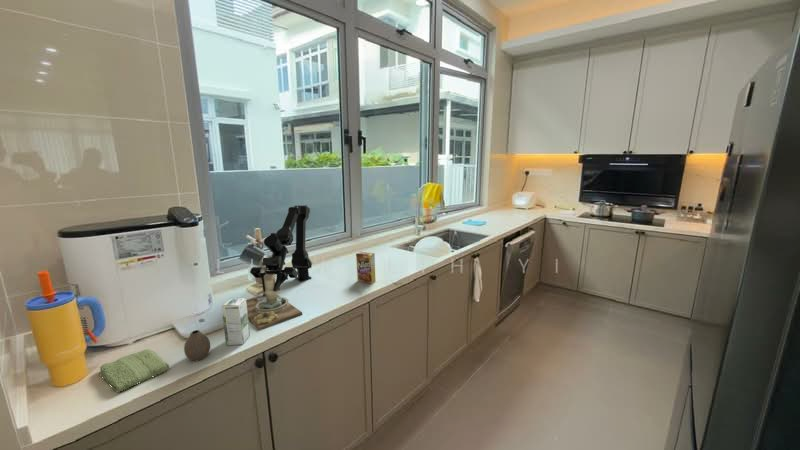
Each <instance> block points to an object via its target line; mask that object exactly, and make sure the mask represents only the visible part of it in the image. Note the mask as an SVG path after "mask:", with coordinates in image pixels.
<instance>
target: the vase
mask: <svg viewBox="0 0 800 450" xmlns="http://www.w3.org/2000/svg"><path fill="white" fill-rule="evenodd" d="M183 351H184V355H185V357H186V358H187V359H188V360H190V361H192V360H193V361H192V362H196V360H198V361H200V359H201V360H203V359H205V358H206V357H207V355H209V353H210V351H211V341H210V338H209V337H208V336H207V335H206V334H204V333H203V332H201V330H199V329H195V330H192V331H191V332H190V334H189V336H188V337H187V339H186V340H185V343H184V345H183ZM204 357H205V358H204Z"/></svg>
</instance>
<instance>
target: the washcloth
mask: <svg viewBox="0 0 800 450" xmlns="http://www.w3.org/2000/svg"><path fill="white" fill-rule="evenodd" d="M169 367H170V365H169V363H167V361H165V360H164V359H163V358H161V357H160V356H159V355H157V353H156V352H155V351H154V350H152V349H150V348H146V349H142V350H140V351H137V352H134V353H130V354H127V355H124V356H121V357H119V358H117V359H116V360H113V361H111V362H106V363H103V364H102V365H101V366H100V367H99V369H100V372H99V373H98V374H100V375H101V376H102V377H103V378H104V379H105V380H106V381H105V380H104V379H103V378H102V377H101V376H100V377H101V378H102V379H103V380H104V381H105V383H106V384H107V385H109V384H110V385H111V386H112V389H113V388H114V389H115V390H114V389H113V390H114V391H116V390H117V391H118V392H117V393H121V392H120V391H123V390H124V391H126V390H128V389H130V388H129V387H131V386H133V385H135V384H137V383H139V382H141V381H142V382H144V381H143V380H145V379H147V380H149V379H151V378H150V377H152V376H155V375H156V376H158V375H157V374H159V373H162V372H164V373H166V372H167V371H168V370H169V369H168V368H169ZM165 371H166V372H165ZM162 374H163V373H162ZM159 375H160V374H159ZM156 376H155V377H156ZM148 378H149V379H148ZM145 381H146V380H145ZM142 382H141V383H142ZM110 385H109V386H110ZM135 386H136V385H135ZM133 387H134V386H133ZM127 388H128V389H127ZM131 388H132V387H131ZM125 389H126V390H125ZM124 391H123V392H124Z"/></svg>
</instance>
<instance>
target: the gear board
mask: <svg viewBox="0 0 800 450" xmlns="http://www.w3.org/2000/svg"><path fill="white" fill-rule="evenodd" d="M276 296H277V298H278V299H280V298H281V299H282V305H281V306H278V307H275V308H273V309H270V308H269V309H267V308H262V306H261V305H263V304H262V302H263V301H266V292H261V293H259V294H257V295H255V296H254V297H252V298H248V299H247V298H246V304H247V313H248V322H250V323H251V324H252V325H253V326H254V327H255V328H256V329H257V330H258V331H261V330H264V329H266V328H269V327H271V326H275V325H277V324H280V323H282V322H285V321H288V320H291V319H294V318H297V317H300V316H302V315H303V312H302V310H300V309H298V308H297V307H295V306H294V305H293V304H292V303H290V302H289V299H287V297H283V296H279V295H278V294H277V293H276Z"/></svg>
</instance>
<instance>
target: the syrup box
mask: <svg viewBox="0 0 800 450" xmlns="http://www.w3.org/2000/svg"><path fill="white" fill-rule="evenodd" d="M246 300H247V298H241V297H240V298H239V297H238V298H236V297H235V298H231V299H230V298H229V299H228V300H227V301H226V302H225V303H224V304H222V306H221V312H222V321H223V330H224V337H225V338H224V339H225V345H226V346H238V345H244V344H245V343H246V341H247V340H248V339H249V337H250V327H249V325H250V324H249V320H248V313H247V304H246Z"/></svg>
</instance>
